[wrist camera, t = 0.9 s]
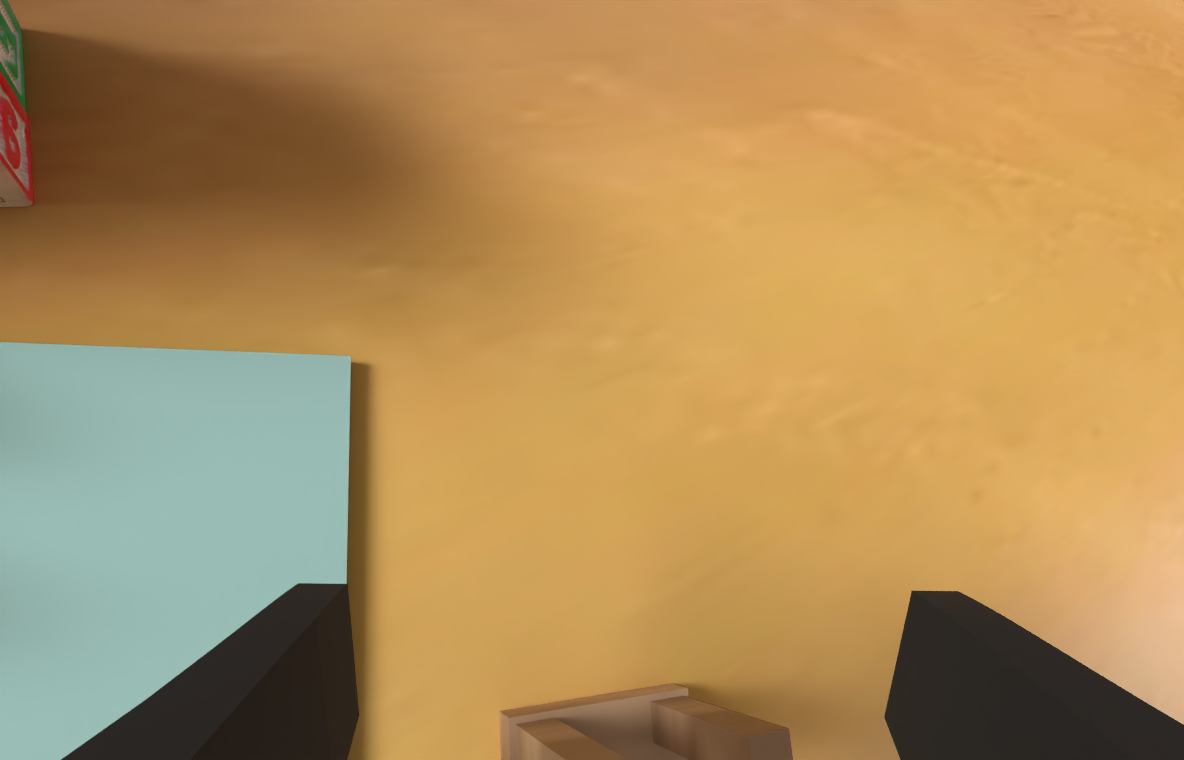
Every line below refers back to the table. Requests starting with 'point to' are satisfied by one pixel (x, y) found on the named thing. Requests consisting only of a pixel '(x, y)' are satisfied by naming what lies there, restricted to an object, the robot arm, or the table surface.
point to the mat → (153, 518)
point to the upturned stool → (639, 729)
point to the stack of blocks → (13, 116)
